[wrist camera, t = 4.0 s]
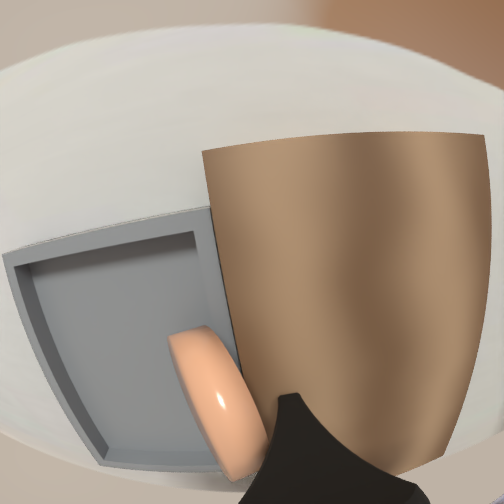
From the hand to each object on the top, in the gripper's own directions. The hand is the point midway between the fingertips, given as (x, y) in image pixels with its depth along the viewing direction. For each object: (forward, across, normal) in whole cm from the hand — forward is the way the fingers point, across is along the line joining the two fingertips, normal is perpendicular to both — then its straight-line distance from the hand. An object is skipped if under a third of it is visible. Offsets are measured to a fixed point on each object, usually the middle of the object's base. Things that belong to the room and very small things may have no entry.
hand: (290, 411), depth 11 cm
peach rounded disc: (+1, +2, 0) cm, 3 cm away
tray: (+5, +8, 0) cm, 9 cm away
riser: (+5, -4, 0) cm, 7 cm away
